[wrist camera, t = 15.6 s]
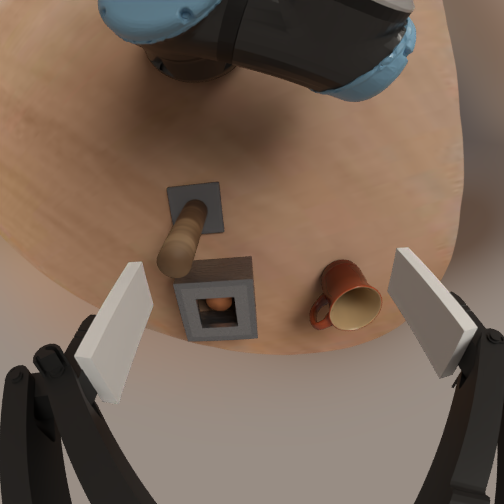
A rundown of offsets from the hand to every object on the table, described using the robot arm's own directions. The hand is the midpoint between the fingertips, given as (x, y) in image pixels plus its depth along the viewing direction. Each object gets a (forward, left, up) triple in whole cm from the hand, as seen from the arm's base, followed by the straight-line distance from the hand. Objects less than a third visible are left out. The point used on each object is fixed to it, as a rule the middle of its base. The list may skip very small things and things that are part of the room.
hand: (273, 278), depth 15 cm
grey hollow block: (+21, -7, -31) cm, 39 cm away
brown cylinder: (+6, -10, -31) cm, 33 cm away
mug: (+21, +13, -32) cm, 40 cm away
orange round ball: (+21, -7, -31) cm, 38 cm away
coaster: (+6, -9, -31) cm, 33 cm away
